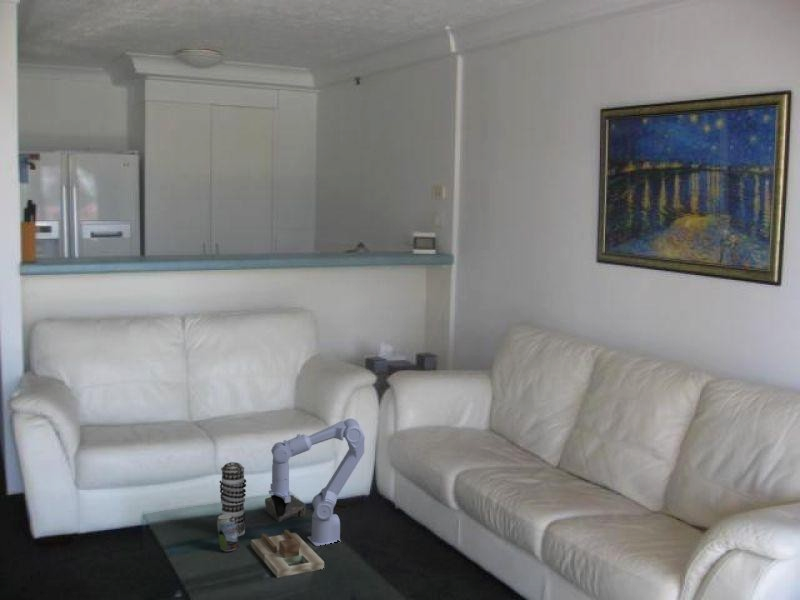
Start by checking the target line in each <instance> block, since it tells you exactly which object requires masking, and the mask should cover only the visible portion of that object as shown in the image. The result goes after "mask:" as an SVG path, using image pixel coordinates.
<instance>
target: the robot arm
mask: <svg viewBox="0 0 800 600" xmlns="http://www.w3.org/2000/svg"><path fill="white" fill-rule="evenodd" d="M333 439H336V440H339V441H341V442H342V441H344V440H345V441H346V442H347V446H348V450H347V452H346V454H345V455H344V457H343V459H342V460H341V462H340V463H339V465H338V467H337V468H336V470H335V471H334V472H333V474H332V475H331V477H330V479H329V481H328V482H327V484H326V486H324V488H322V489H321V491H320V492H319V493H317V494H316V495H314V497H313V499H312V502H311V504H312V507H313V509H314V510H313V512H312V514H311V536H310V535H309V536H307V538H306V539H308V541H310V542H311V543H312V544H313V545H314V546H315V547H319V546H320V545H321V546H325V544H326V545H331V544H330V543H332V544H335V543H334V542H337V540H339V541H340V542H339V543H341V542H342V541H341V521H340V518H339V517H340V516H338V514H336V513H334V508H335V506H336V505H337V500H338V497H339V494H340V493H341V491H342V490H343V488H344V487H345V485H346V483H347V482H348V480H349V478H350V477H351V475H352V474H353V472H354V470H355V469H356V468H357V465H358V464H359V462H360V460H361V459H362V457H363V456H364V454H365V435H364V432H363V429H362V428H361V427H360V425H359V422H358V421H357V420H356V419H354V418H347V419H345V420H340V421H338V422H336V423H334V424H332V425H331V426H328V427H326V428H323V429H321V430H318V431H317V432H314V433H312V434H311V435H307V434H300V433H299V434H296V436H295V437H293V438H291V439H288V440H287V439H284V440H283V442H281V441H278V442H276V443H274V445H273V446H272V448H271V451H270V452H271V453H272V465H271V469H272V470H271V483H270V490H268V494H269V495H270V497H271V498H272V500H273V502H274V506H275V510H276V514H277V516H278V517H280V516H284V513H285V509H286V506H287V503H288V502H291V497H290V495H291V493H290V464H289V461H290V458H292V457H295V456H298V455H301V454H302V453H306V452H308V451H310V450H311V447H313V445H317V444H320V443H324V442H326V441H328V440H333ZM321 546H320V547H321Z"/></svg>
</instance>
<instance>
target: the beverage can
mask: <svg viewBox="0 0 800 600" xmlns="http://www.w3.org/2000/svg"><path fill="white" fill-rule="evenodd" d="M216 526H217V533H218V538H219V546H220V550H222V551H224V552H232V551H235V550H237V548H238V547H239V540H238V537H237V531H236V524H235V518H234V517H233V515H232V514H224V515H221V514H220V515H219V516H218V517H217V520H216Z"/></svg>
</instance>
